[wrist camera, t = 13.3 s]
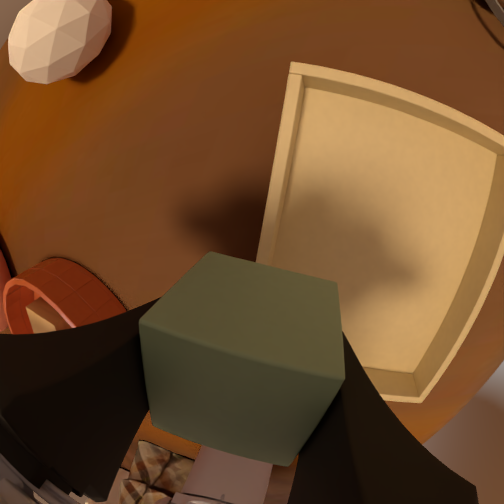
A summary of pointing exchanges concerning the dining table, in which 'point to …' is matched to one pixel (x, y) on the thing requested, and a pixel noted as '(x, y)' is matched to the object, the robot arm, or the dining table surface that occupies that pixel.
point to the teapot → (0, 278)
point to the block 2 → (243, 357)
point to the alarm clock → (497, 9)
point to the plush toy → (154, 475)
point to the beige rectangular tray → (387, 218)
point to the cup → (113, 489)
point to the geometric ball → (58, 38)
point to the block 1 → (45, 317)
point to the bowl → (58, 295)
